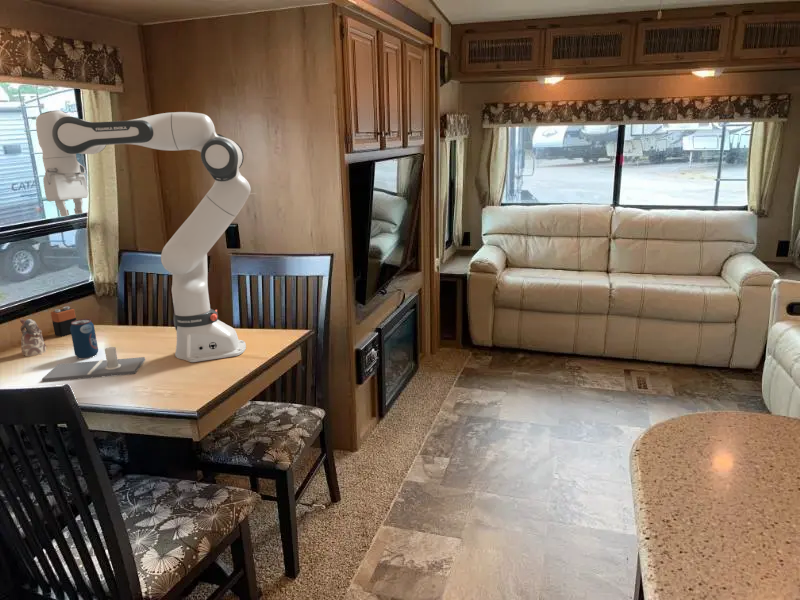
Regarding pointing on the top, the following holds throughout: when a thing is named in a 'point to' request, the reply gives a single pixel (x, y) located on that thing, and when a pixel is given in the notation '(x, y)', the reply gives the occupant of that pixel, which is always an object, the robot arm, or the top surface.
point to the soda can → (84, 338)
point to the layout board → (95, 367)
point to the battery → (63, 320)
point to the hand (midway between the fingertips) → (72, 215)
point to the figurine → (31, 339)
